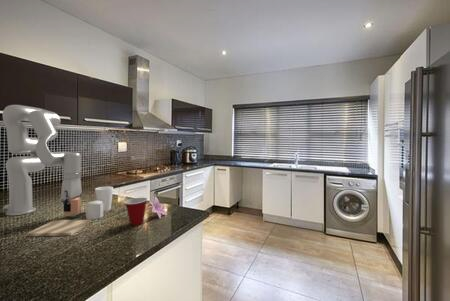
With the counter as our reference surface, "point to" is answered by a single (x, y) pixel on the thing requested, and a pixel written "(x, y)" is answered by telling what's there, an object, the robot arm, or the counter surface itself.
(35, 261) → the counter surface
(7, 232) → the counter surface
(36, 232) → the oak board
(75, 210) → the pink acorn nut
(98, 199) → the foam cup
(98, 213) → the white domed cap nut
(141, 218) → the plastic cup
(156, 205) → the lily
